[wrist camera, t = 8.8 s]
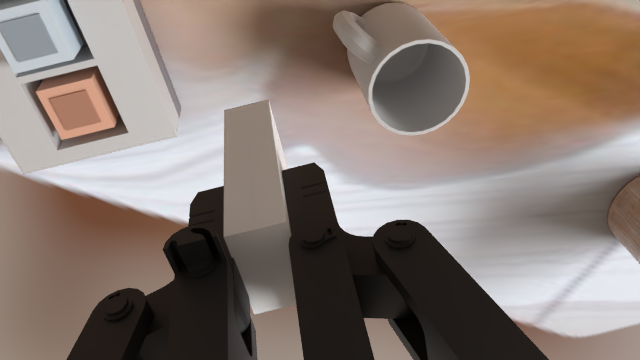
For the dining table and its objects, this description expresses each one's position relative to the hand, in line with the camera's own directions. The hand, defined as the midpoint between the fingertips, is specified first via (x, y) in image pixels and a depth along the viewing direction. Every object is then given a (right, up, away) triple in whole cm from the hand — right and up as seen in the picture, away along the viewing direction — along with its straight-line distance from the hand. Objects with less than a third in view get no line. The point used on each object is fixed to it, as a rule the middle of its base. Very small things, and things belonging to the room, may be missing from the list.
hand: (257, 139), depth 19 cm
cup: (+7, +11, +27) cm, 29 cm away
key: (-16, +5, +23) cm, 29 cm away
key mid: (-17, +9, +19) cm, 27 cm away
